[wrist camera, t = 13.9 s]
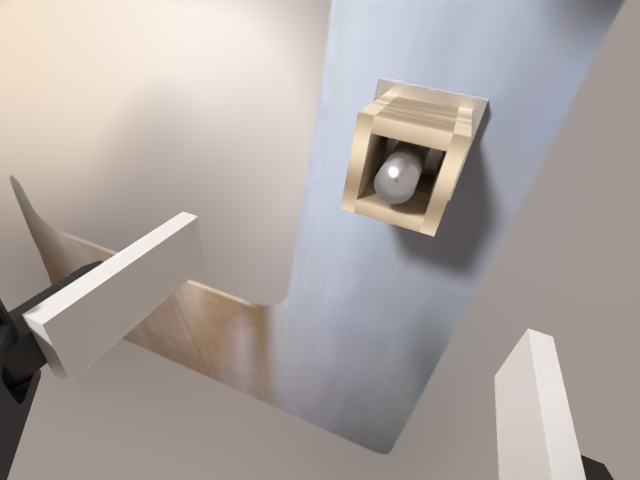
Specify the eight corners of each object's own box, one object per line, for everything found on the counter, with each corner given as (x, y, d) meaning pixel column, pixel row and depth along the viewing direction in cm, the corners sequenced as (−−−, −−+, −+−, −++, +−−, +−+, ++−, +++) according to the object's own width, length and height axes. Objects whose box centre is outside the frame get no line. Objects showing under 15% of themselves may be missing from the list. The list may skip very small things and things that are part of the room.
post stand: (382, 76, 34) (340, 99, 24) (487, 97, 32) (493, 132, 21) (362, 171, 40) (321, 222, 29) (450, 195, 37) (441, 260, 27)
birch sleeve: (386, 92, 33) (358, 112, 25) (472, 109, 31) (471, 138, 23) (369, 169, 38) (340, 208, 30) (443, 189, 36) (434, 236, 28)
